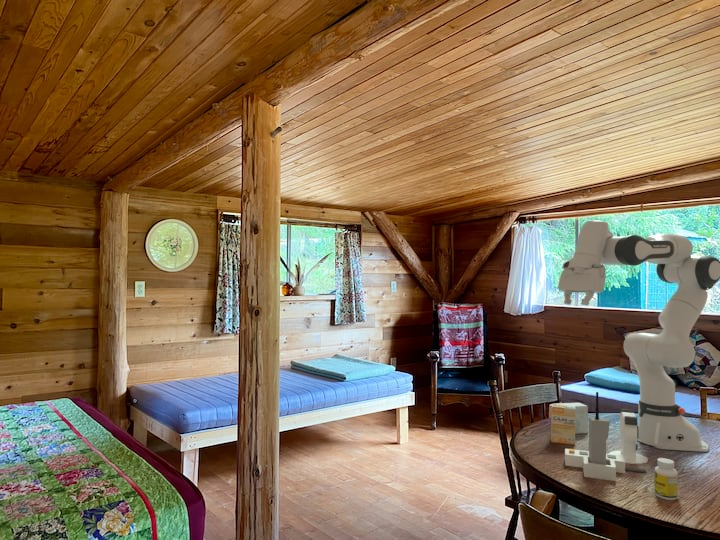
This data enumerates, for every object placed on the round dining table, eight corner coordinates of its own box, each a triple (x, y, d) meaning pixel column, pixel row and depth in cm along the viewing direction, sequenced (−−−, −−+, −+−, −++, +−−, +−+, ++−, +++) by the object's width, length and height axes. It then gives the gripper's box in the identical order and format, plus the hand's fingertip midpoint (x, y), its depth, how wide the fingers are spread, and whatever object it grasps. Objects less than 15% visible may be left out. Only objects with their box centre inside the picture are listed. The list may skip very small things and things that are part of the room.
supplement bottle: (650, 492, 142) (650, 457, 142) (668, 491, 142) (668, 456, 142) (663, 501, 136) (663, 464, 136) (682, 500, 137) (682, 463, 137)
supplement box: (550, 442, 184) (550, 406, 184) (551, 438, 188) (551, 403, 188) (575, 445, 180) (575, 408, 181) (575, 441, 185) (575, 405, 185)
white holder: (651, 466, 161) (651, 419, 161) (611, 461, 165) (611, 415, 165) (644, 454, 172) (644, 409, 172) (607, 450, 176) (607, 406, 176)
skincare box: (579, 428, 201) (579, 401, 201) (588, 433, 195) (588, 406, 195) (554, 429, 200) (554, 402, 200) (563, 434, 193) (563, 406, 193)
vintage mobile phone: (609, 477, 152) (609, 393, 152) (591, 476, 153) (592, 392, 153) (606, 472, 156) (606, 391, 156) (588, 471, 157) (589, 390, 157)
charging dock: (644, 469, 159) (644, 455, 159) (651, 486, 146) (651, 471, 146) (565, 459, 167) (565, 446, 167) (565, 474, 154) (565, 460, 154)
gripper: (614, 267, 163) (604, 308, 162) (575, 269, 183) (565, 306, 182) (597, 261, 162) (587, 302, 161) (560, 264, 182) (550, 301, 181)
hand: (575, 304), depth 171 cm, fingers open, 8 cm apart
